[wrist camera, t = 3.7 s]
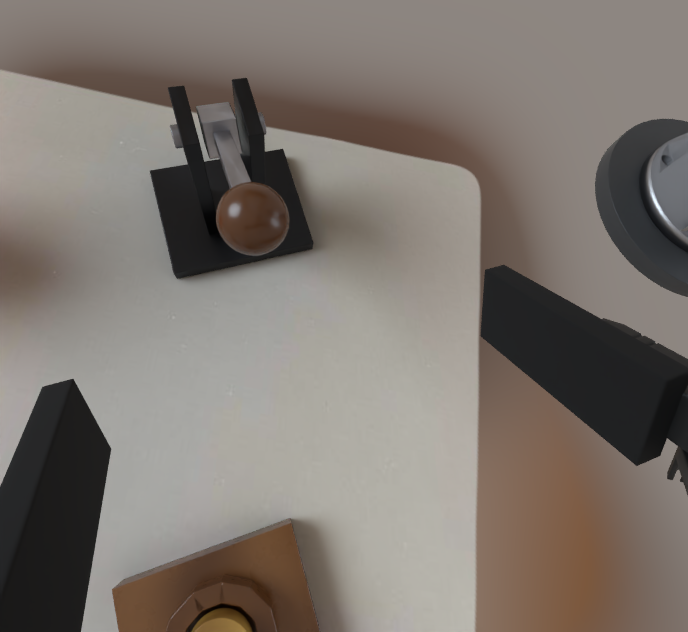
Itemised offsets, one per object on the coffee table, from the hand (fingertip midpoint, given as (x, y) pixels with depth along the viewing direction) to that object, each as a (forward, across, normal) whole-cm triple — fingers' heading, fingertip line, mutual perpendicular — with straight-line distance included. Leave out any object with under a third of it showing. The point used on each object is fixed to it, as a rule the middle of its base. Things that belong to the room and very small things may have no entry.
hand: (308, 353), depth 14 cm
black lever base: (+29, 0, -3) cm, 29 cm away
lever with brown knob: (+16, 0, +1) cm, 16 cm away
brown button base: (+7, -8, -25) cm, 27 cm away
